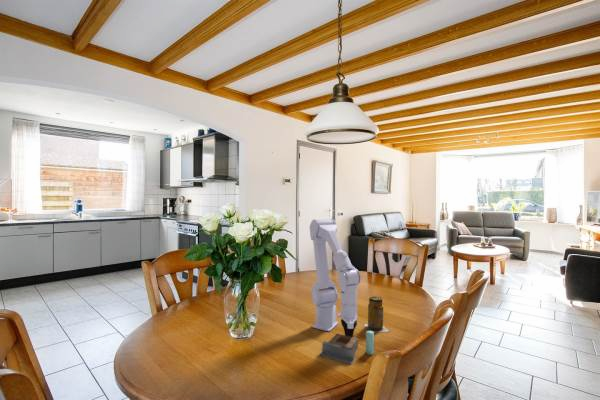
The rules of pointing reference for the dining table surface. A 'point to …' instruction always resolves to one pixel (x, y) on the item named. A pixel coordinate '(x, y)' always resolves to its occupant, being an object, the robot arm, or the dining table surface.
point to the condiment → (375, 315)
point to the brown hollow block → (345, 341)
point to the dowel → (369, 342)
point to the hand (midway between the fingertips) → (348, 340)
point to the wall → (338, 352)
